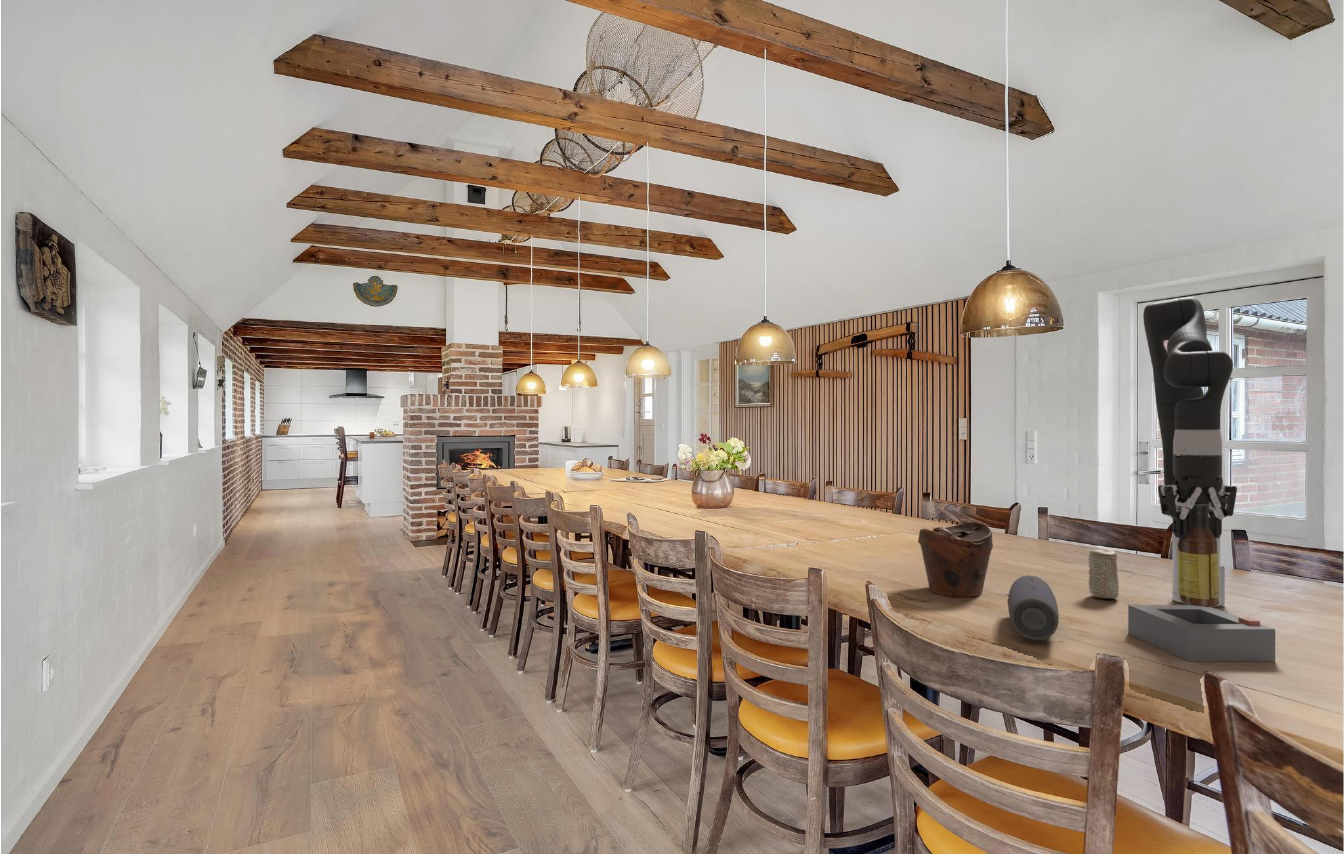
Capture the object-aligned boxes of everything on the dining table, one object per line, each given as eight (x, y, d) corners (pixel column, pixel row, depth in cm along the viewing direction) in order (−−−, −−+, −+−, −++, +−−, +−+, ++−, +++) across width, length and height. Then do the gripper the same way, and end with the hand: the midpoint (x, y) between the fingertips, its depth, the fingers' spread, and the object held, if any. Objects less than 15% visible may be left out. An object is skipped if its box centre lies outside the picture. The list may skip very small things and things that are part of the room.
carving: (1110, 594, 167) (1110, 548, 167) (1125, 602, 160) (1125, 554, 159) (1083, 593, 168) (1083, 547, 168) (1096, 601, 161) (1096, 553, 161)
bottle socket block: (1205, 633, 136) (1205, 601, 136) (1275, 661, 120) (1275, 624, 120) (1128, 633, 136) (1128, 601, 136) (1187, 661, 120) (1187, 624, 120)
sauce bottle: (1204, 599, 131) (1205, 501, 131) (1227, 608, 125) (1228, 505, 124) (1169, 598, 131) (1170, 501, 131) (1190, 607, 125) (1191, 504, 125)
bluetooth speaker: (1007, 613, 150) (1007, 570, 150) (1054, 619, 146) (1054, 575, 146) (1007, 642, 130) (1007, 593, 130) (1061, 650, 126) (1061, 598, 126)
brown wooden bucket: (908, 594, 167) (909, 524, 167) (927, 579, 184) (928, 516, 183) (984, 606, 157) (985, 532, 157) (997, 589, 173) (998, 523, 173)
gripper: (1218, 451, 131) (1218, 534, 132) (1146, 451, 132) (1146, 534, 132) (1250, 453, 124) (1250, 541, 124) (1174, 453, 124) (1174, 541, 124)
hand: (1196, 537), depth 128 cm, fingers closed on sauce bottle, 6 cm apart
